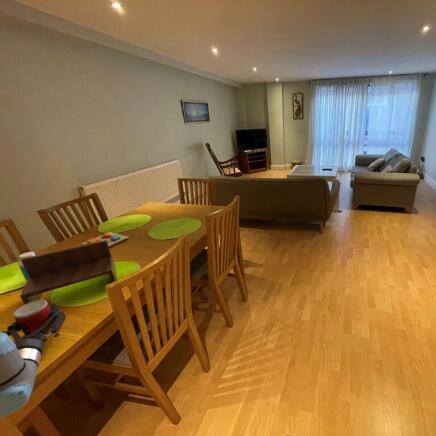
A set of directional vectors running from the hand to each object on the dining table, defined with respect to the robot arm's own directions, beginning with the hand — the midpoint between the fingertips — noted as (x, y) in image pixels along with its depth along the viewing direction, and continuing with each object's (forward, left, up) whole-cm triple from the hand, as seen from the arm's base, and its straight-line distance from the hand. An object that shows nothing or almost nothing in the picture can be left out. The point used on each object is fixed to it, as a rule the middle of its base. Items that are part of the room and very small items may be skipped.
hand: (39, 310), depth 85 cm
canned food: (0, -5, -6) cm, 8 cm away
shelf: (+8, +18, -6) cm, 21 cm away
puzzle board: (+18, +66, -6) cm, 69 cm away
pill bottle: (-8, +39, -6) cm, 41 cm away
